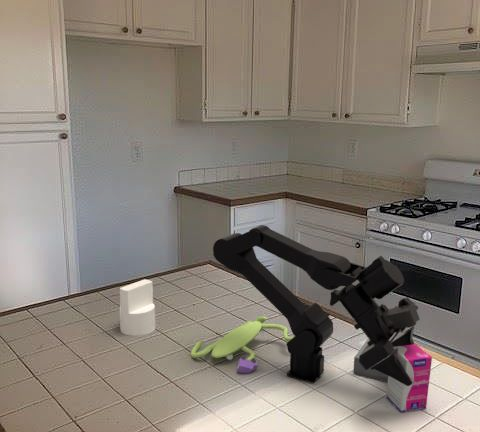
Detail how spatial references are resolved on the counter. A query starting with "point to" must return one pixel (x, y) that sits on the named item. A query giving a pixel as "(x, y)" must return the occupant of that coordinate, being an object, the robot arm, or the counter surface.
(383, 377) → the bin
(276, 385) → the counter surface
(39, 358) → the counter surface
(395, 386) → the supplement box
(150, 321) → the base with upright slab
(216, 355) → the figurine
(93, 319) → the counter surface
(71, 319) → the counter surface
